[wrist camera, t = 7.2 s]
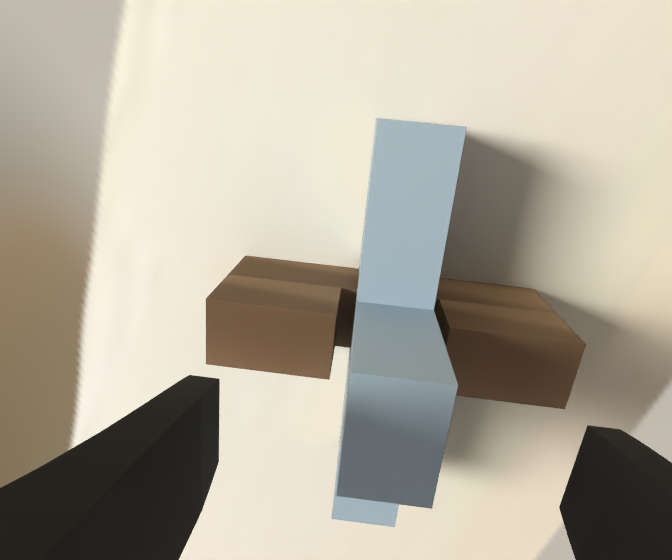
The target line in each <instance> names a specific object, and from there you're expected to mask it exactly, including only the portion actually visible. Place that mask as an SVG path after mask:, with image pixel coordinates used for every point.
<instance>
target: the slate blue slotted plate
mask: <svg viewBox="0 0 672 560" xmlns="http://www.w3.org/2000/svg"><path fill="white" fill-rule="evenodd" d="M466 128H467V127H462V126H451V125H441V124H431V123H420V122H410V121H400V120H389V119H379V118H376V125H375V134H374V142H373V151H372V160H371V169H370V177H369V186H368V195H367V204H366V212H365V221H364V230H363V239H362V247H361V256H360V268H359V279H358V288H357V297H356V305H355V314H354V323H353V331H352V340H351V348H350V353H349V361H348V370H347V379H346V388H345V396H344V405H343V414H342V423H341V431H340V441H339V451H338V461H337V471H336V481H335V491H334V501H333V511H332V519H337V520H344V521H352V522H360V523H367V524H375V525H382V526H390V527H395V523H396V517H397V511H398V506H399V504H401V505H409V506H417V507H425V508H432V505H433V500H434V496H435V491H436V486H437V482H438V477H439V472H440V468H441V463H442V458H443V454H444V449H445V444H446V440H447V435H448V430H449V426H450V421H451V416H452V412H453V407H454V402H455V397H456V393H457V388H458V383H457V380H456V377H455V374H454V371H453V368H452V365H451V362H450V359H449V356H448V352H447V349H446V346H445V343H444V340H443V337H442V334H441V331H440V328H439V325H438V322H437V318H436V315H435V312H434V306H435V301H436V295H437V289H438V284H439V278H440V273H441V267H442V262H443V256H444V251H445V245H446V239H447V234H448V228H449V223H450V217H451V212H452V206H453V201H454V195H455V190H456V184H457V178H458V173H459V167H460V162H461V156H462V151H463V145H464V140H465V134H466Z"/></svg>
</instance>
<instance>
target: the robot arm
mask: <svg viewBox="0 0 672 560" xmlns="http://www.w3.org/2000/svg"><path fill="white" fill-rule="evenodd" d="M218 462H219V379H216V378H208V377H200V376H192V375H189V376H187V377H185V378H184V379H182V380H180V381H179V382H177V383H176V384H174V385H173V386H171V387H170V388H168V389H167V390H165V391H163V392H162V393H160V394H159V395H157V396H156V397H154V398H153V399H151V400H150V401H148V402H147V403H145V404H144V405H142V406H141V407H139V408H138V409H136V410H134V411H133V412H131V413H130V414H128V415H127V416H125V417H123V418H122V419H120V420H119V421H117V422H116V423H114V424H112V425H111V426H109V427H108V428H106V429H105V430H103V431H101V432H100V433H98V434H96V435H95V436H93V437H91V438H89V439H88V440H86V441H84V442H83V443H81V444H79V445H77V446H76V447H74V448H72V449H71V450H69V451H67V452H65V453H64V454H62V455H60V456H59V457H57V458H55V459H53V460H52V461H50V462H48V463H47V464H45V465H43V466H41V467H39V468H38V469H36V470H34V471H32V472H30V473H28V474H27V475H25V476H23V477H21V478H19V479H17V480H15V481H13V482H11V483H9V484H8V485H5V486H3V487H1V488H0V560H179V558H180V556H181V554H182V551H183V549H184V547H185V545H186V543H187V541H188V539H189V537H190V535H191V532H192V530H193V528H194V526H195V524H196V522H197V520H198V518H199V515H200V513H201V511H202V508H203V506H204V503H205V500H206V497H207V494H208V492H209V489H210V486H211V483H212V480H213V477H214V474H215V471H216V468H217V465H218ZM559 508H560V511H561V515H562V518H563V521H564V525H565V528H566V531H567V535H568V538H569V541H570V544H571V547H572V550H573V553H574V555H575V559H576V560H672V463H671V462H670V461H668V460H667V459H665V458H664V457H662V456H661V455H659V454H658V453H656V452H655V451H653V450H652V449H651V448H649V447H648V446H646V445H644V444H643V443H641V442H640V441H638V440H637V439H635V438H634V437H632V436H630V435H629V434H627V433H625V432H623V431H622V430H620V429H612V428H604V427H596V426H587V429H586V432H585V435H584V437H583V440H582V443H581V446H580V449H579V452H578V455H577V458H576V461H575V463H574V466H573V469H572V472H571V475H570V478H569V481H568V484H567V487H566V489H565V492H564V495H563V498H562V501H561V504H560V507H559Z"/></svg>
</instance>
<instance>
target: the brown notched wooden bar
mask: <svg viewBox="0 0 672 560" xmlns="http://www.w3.org/2000/svg"><path fill="white" fill-rule="evenodd" d="M358 279H359V269H354V268H345V267H337V266H328V265H319V264H311V263H302V262H294V261H285V260H276V259H268V258H259V257H250V256H245V257H244V258H243V259H242V260H241V261H240V262H239V263H238V265H237V266H236V267H235V268H234V269H233V270H232V271H231V272H230V273H229V274H228V275H227V277H226V278H225V279H224V280H223V281H222V282H221V283H220V284H219V285H218V286H217V287H216V289H215V290H214V291H213V292H212V293H211V294H210V295H209V296H208V297H207V298H206V364H209V365H217V366H225V367H233V368H241V369H249V370H257V371H265V372H273V373H281V374H289V375H297V376H305V377H313V378H321V379H329V378H330V372H331V366H332V360H333V354H334V348H335V346H342V347H350V348H351V340H352V331H353V323H354V314H355V305H356V297H357V288H358ZM434 312H435V315H436V318H437V322H438V325H439V328H440V331H441V334H442V337H443V340H444V343H445V346H446V349H447V352H448V356H449V359H450V362H451V365H452V368H453V371H454V374H455V377H456V380H457V383H458V388H457V393H456V395H457V396H465V397H473V398H481V399H489V400H497V401H505V402H513V403H521V404H529V405H537V406H545V407H553V408H561V409H565V407H566V404H567V401H568V398H569V395H570V392H571V389H572V385H573V382H574V379H575V376H576V373H577V370H578V367H579V364H580V361H581V358H582V354H583V351H584V348H585V345H586V344H585V343H584V342H583V341H582V340H581V339H580V338H579V337H578V336H577V335H576V333H575V332H574V331H573V330H572V329H571V328H570V327H569V326H568V325H567V324H566V323H565V322H564V321H563V320H562V319H561V318H560V317H559V316H558V314H557V313H556V312H555V311H554V310H553V309H552V308H551V307H550V306H549V305H548V304H547V303H546V302H545V301H544V300H543V299H542V298H541V297H540V295H539V294H538V293H537V292H536V291H535V290H534V289H527V288H518V287H510V286H501V285H492V284H484V283H475V282H466V281H458V280H449V279H440V278H439V284H438V289H437V295H436V301H435V306H434Z"/></svg>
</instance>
